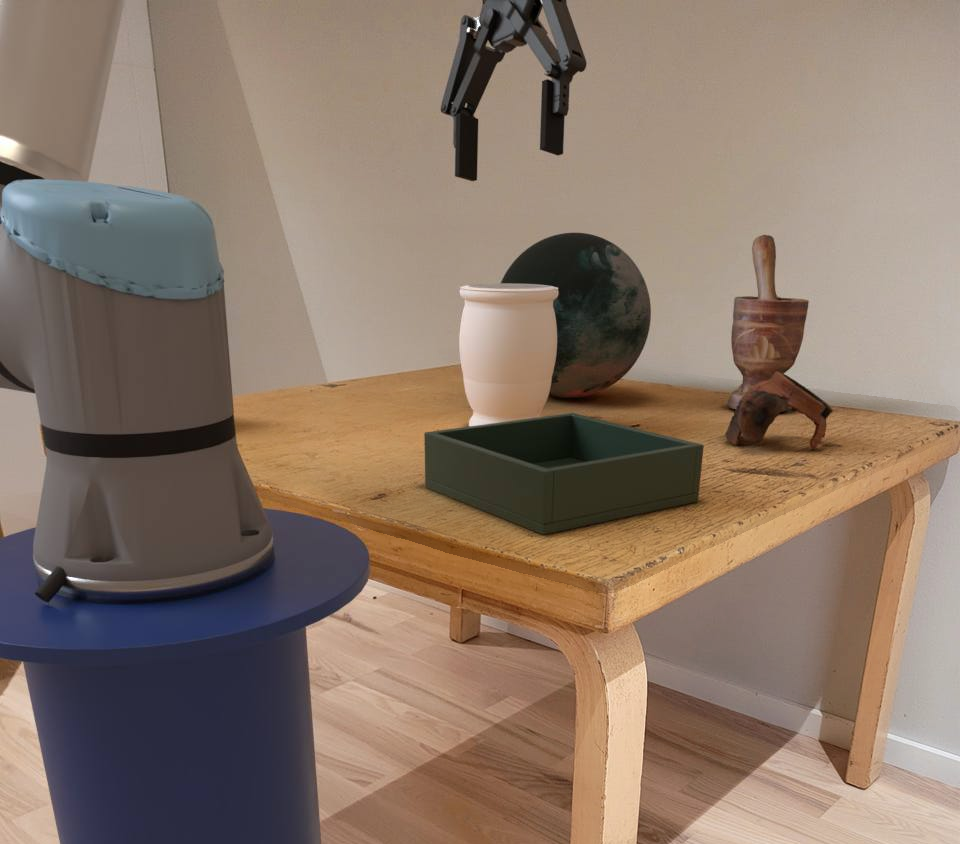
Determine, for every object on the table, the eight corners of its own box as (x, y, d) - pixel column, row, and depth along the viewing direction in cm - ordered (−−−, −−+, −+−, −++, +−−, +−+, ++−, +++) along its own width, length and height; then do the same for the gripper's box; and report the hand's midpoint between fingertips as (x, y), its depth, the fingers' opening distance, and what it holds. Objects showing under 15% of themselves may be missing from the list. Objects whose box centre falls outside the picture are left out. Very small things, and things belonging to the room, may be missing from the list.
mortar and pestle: (696, 400, 125) (713, 234, 117) (753, 397, 127) (773, 234, 119) (747, 416, 115) (769, 236, 107) (808, 413, 117) (833, 236, 109)
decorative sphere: (616, 416, 114) (629, 234, 106) (466, 402, 122) (467, 232, 114) (662, 391, 131) (675, 233, 123) (527, 380, 139) (531, 230, 131)
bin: (543, 535, 71) (545, 471, 69) (424, 487, 84) (423, 432, 82) (698, 501, 80) (704, 444, 78) (570, 462, 92) (572, 412, 91)
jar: (445, 433, 105) (444, 287, 99) (478, 416, 114) (479, 281, 108) (537, 441, 101) (542, 290, 95) (564, 423, 110) (570, 284, 104)
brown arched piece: (736, 434, 108) (783, 370, 104) (801, 484, 104) (852, 420, 100) (694, 422, 98) (745, 351, 94) (765, 477, 94) (820, 405, 91)
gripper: (627, -85, 94) (617, 148, 98) (462, 1, 112) (458, 194, 116) (575, -117, 89) (566, 129, 93) (411, -22, 107) (409, 181, 111)
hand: (506, 166), depth 104 cm, fingers open, 13 cm apart
